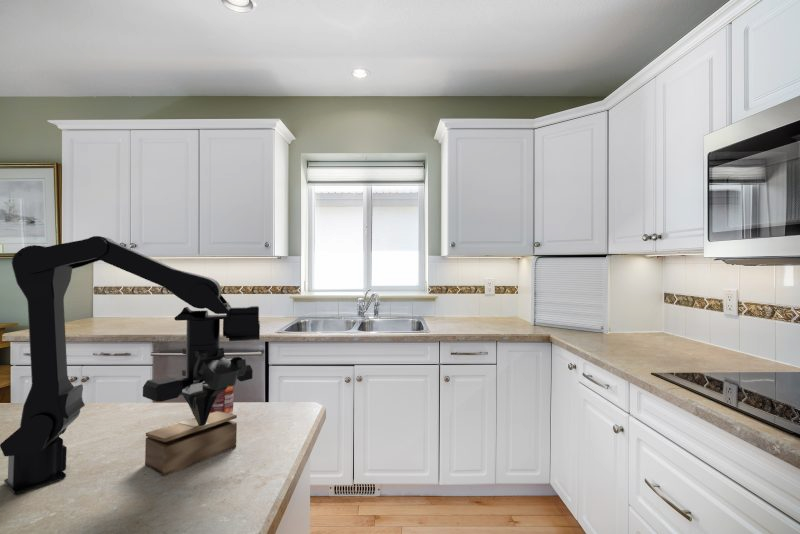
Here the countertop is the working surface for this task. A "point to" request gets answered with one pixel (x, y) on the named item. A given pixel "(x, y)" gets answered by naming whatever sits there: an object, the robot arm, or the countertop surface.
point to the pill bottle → (224, 401)
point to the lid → (189, 427)
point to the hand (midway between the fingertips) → (201, 424)
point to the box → (189, 448)
